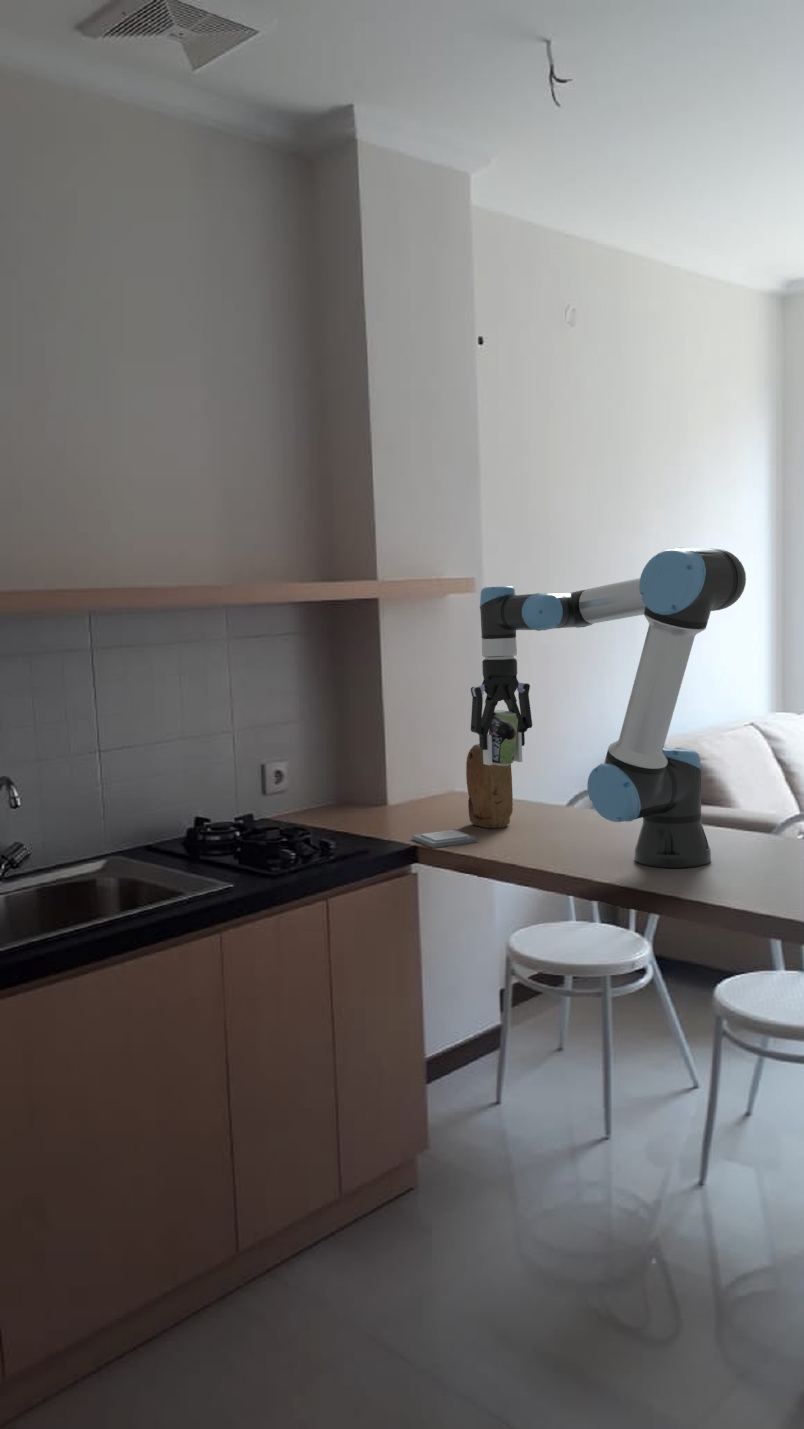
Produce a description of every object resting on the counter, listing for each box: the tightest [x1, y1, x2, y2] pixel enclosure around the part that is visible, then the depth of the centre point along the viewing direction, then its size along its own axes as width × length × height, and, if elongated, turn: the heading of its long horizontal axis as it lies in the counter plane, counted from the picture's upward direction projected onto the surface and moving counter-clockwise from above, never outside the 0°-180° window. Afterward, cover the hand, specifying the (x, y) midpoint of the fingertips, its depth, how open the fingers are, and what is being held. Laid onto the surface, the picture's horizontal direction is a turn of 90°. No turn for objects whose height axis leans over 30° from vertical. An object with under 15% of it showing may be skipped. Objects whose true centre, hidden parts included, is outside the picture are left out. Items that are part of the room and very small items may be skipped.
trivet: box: [411, 829, 478, 849], centre depth 259 cm, size 11×11×1 cm
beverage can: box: [488, 709, 518, 766], centre depth 247 cm, size 6×7×12 cm
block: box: [465, 743, 514, 829], centre depth 273 cm, size 11×8×20 cm
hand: (502, 762), depth 248 cm, fingers closed on beverage can, 7 cm apart
